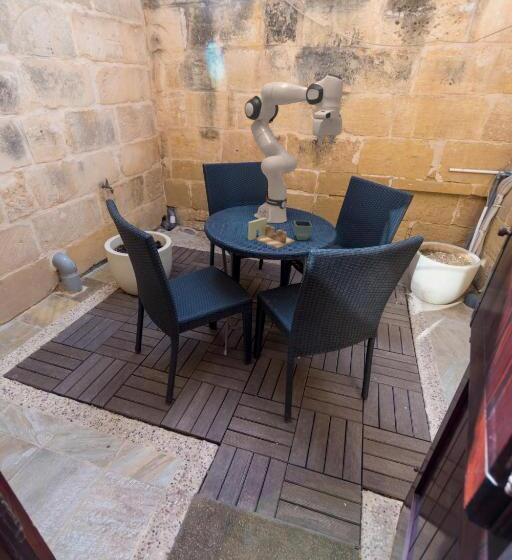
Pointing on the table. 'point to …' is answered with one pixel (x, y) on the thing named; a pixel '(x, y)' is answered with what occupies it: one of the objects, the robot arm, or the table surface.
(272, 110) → the robot arm
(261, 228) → the slot plate
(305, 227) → the flower pot
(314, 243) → the table surface
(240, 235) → the table surface
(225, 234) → the table surface
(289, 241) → the tan piece
